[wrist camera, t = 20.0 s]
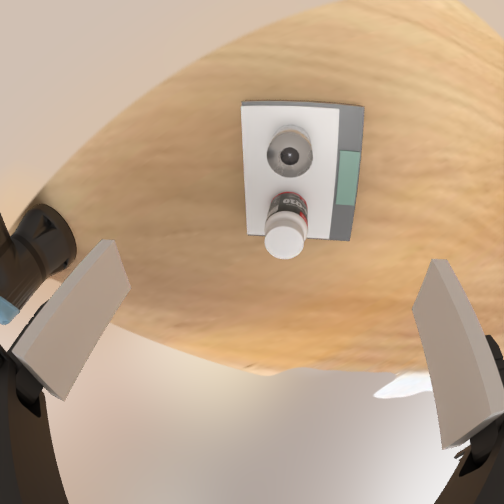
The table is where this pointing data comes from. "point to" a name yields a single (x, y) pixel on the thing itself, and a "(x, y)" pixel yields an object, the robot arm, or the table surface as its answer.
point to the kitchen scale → (320, 172)
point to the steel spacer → (290, 151)
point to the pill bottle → (286, 225)
